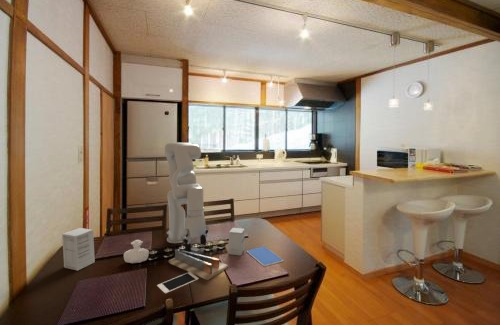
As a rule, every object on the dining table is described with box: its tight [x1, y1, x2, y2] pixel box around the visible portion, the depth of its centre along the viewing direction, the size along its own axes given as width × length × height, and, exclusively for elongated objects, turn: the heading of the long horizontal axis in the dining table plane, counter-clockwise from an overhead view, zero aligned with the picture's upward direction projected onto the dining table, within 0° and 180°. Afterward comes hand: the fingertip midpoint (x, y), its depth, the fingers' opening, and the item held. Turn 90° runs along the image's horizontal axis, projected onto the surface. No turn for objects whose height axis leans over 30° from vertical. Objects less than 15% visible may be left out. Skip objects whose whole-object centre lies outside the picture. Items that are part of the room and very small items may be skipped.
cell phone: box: [156, 271, 200, 294], centre depth 111 cm, size 8×16×1 cm, turn 135°
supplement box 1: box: [61, 227, 96, 272], centre depth 124 cm, size 10×9×17 cm
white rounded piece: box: [123, 239, 150, 264], centre depth 130 cm, size 12×8×11 cm
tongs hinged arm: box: [180, 250, 220, 268], centre depth 125 cm, size 22×1×4 cm, turn 66°
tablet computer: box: [246, 246, 285, 267], centre depth 137 cm, size 19×13×1 cm, turn 29°
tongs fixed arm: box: [174, 248, 212, 274], centre depth 123 cm, size 25×2×5 cm, turn 56°
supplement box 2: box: [228, 227, 245, 256], centre depth 141 cm, size 7×7×13 cm
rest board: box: [168, 257, 229, 281], centre depth 126 cm, size 27×14×1 cm, turn 56°
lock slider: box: [191, 246, 201, 255], centre depth 133 cm, size 5×3×4 cm, turn 56°
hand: (195, 247), depth 121 cm, fingers open, 9 cm apart
